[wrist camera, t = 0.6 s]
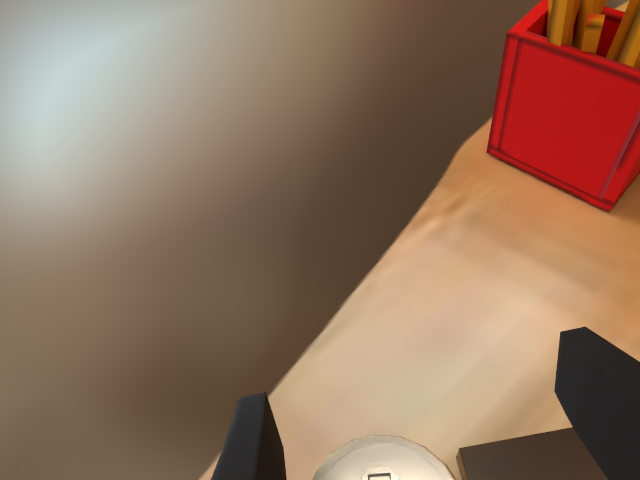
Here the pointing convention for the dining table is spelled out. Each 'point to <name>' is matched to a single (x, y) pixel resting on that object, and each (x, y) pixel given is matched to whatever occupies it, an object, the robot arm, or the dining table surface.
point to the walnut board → (530, 459)
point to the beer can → (383, 461)
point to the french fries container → (572, 98)
